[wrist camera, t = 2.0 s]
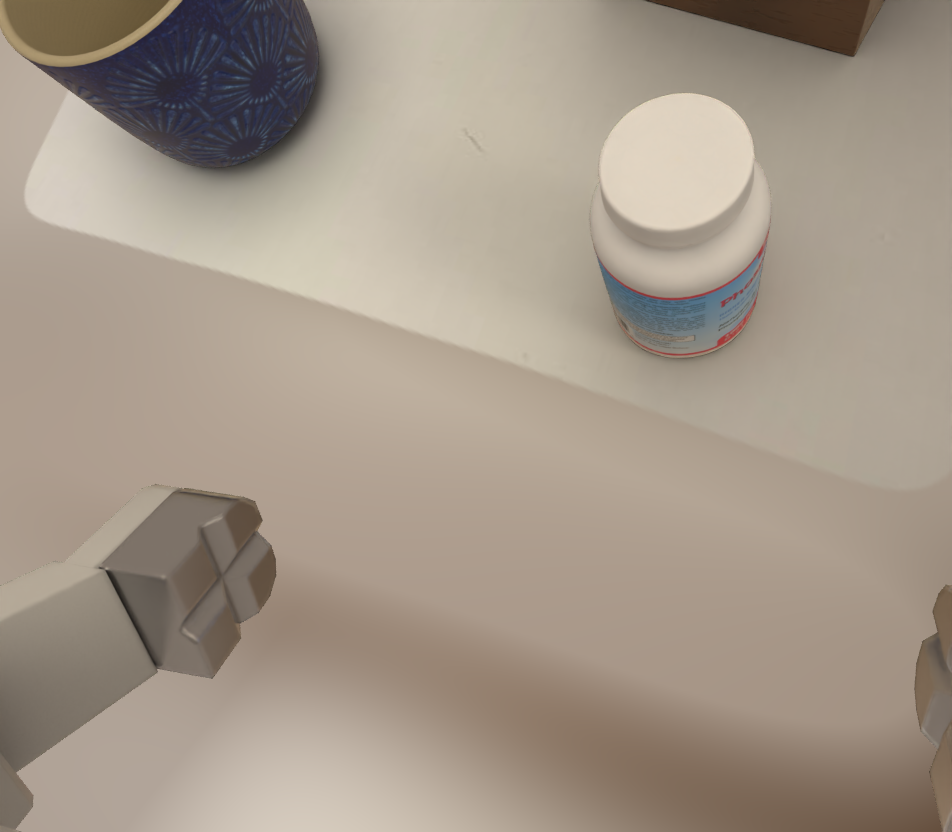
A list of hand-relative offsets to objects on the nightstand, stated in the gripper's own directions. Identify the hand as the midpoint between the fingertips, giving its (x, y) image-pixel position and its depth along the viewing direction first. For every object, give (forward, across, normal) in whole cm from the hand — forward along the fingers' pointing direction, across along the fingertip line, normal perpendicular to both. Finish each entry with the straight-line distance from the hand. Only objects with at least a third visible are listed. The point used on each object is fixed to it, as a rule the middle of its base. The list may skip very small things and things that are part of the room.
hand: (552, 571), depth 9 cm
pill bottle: (+25, 0, +8) cm, 26 cm away
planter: (+34, +25, 0) cm, 42 cm away
